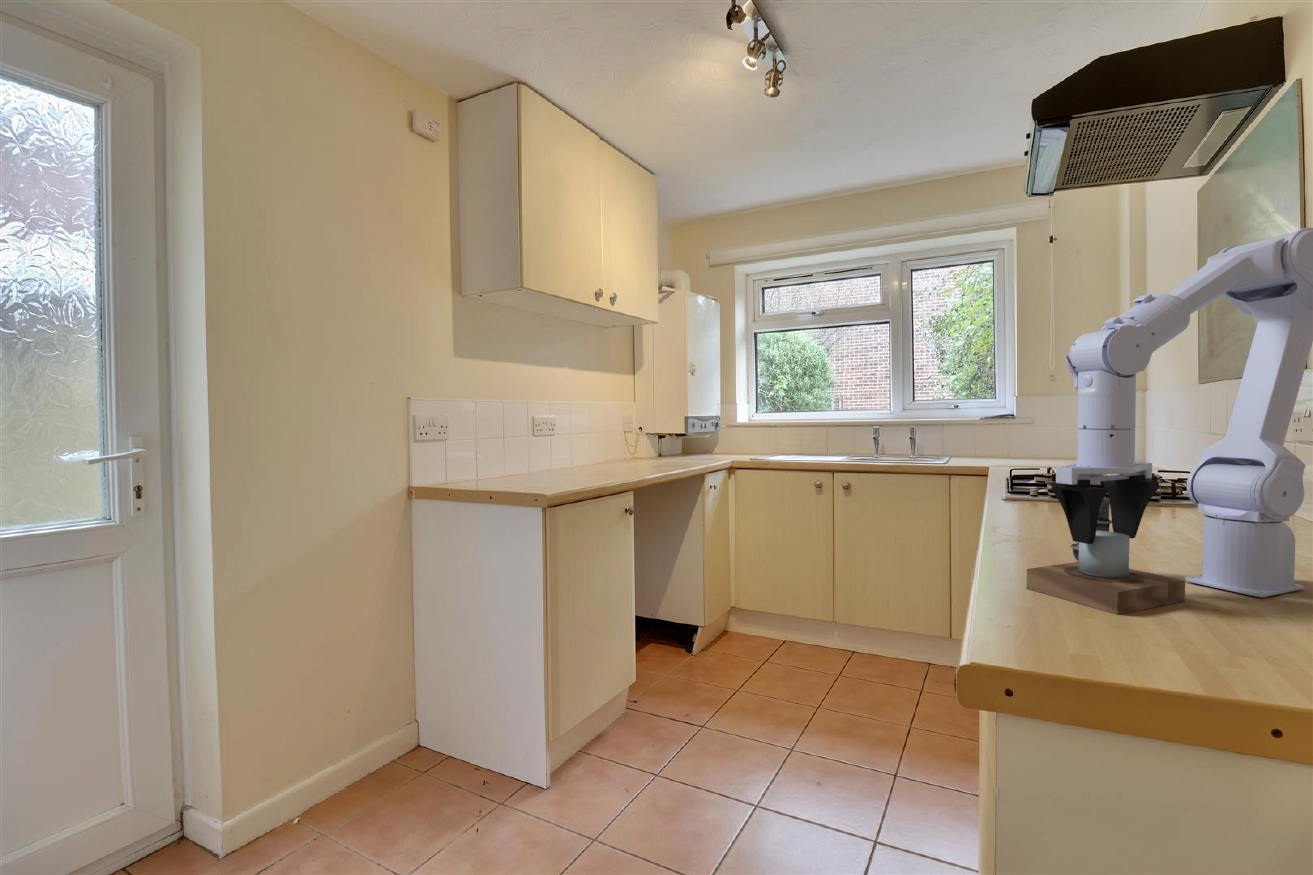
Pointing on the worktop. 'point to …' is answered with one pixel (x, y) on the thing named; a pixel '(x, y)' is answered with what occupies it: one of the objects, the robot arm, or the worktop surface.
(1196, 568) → the worktop surface
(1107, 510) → the grey flared cylinder
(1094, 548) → the peg
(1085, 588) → the board
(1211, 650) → the worktop surface
